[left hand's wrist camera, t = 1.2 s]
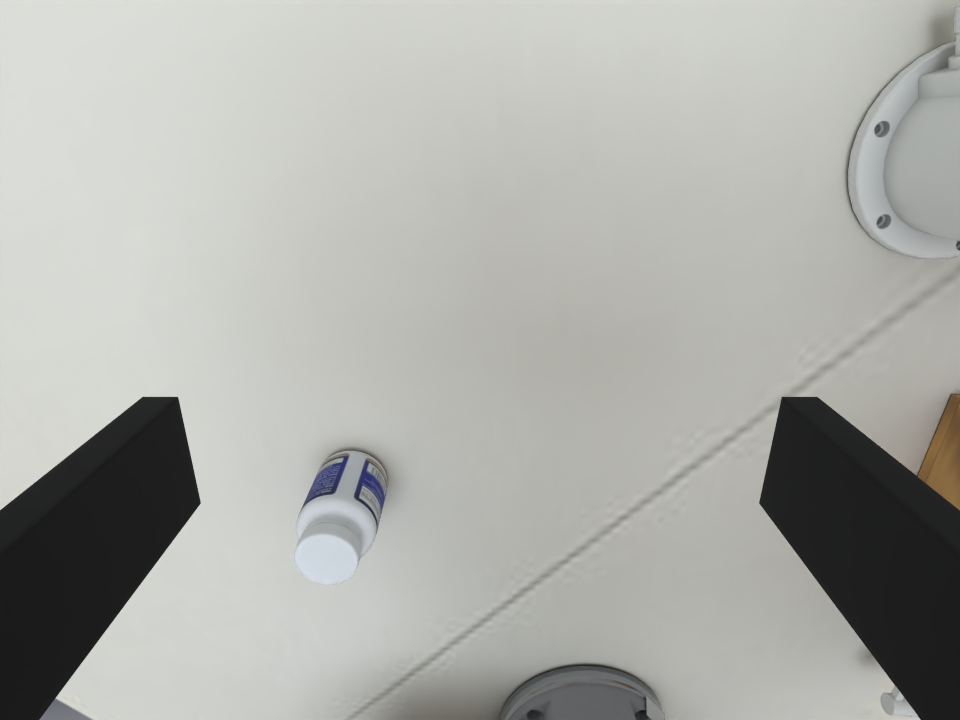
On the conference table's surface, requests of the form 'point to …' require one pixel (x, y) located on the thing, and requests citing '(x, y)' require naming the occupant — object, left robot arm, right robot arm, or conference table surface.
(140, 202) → the conference table surface
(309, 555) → the pill bottle
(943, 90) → the right robot arm
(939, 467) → the tan wooden box
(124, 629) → the conference table surface
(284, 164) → the conference table surface
